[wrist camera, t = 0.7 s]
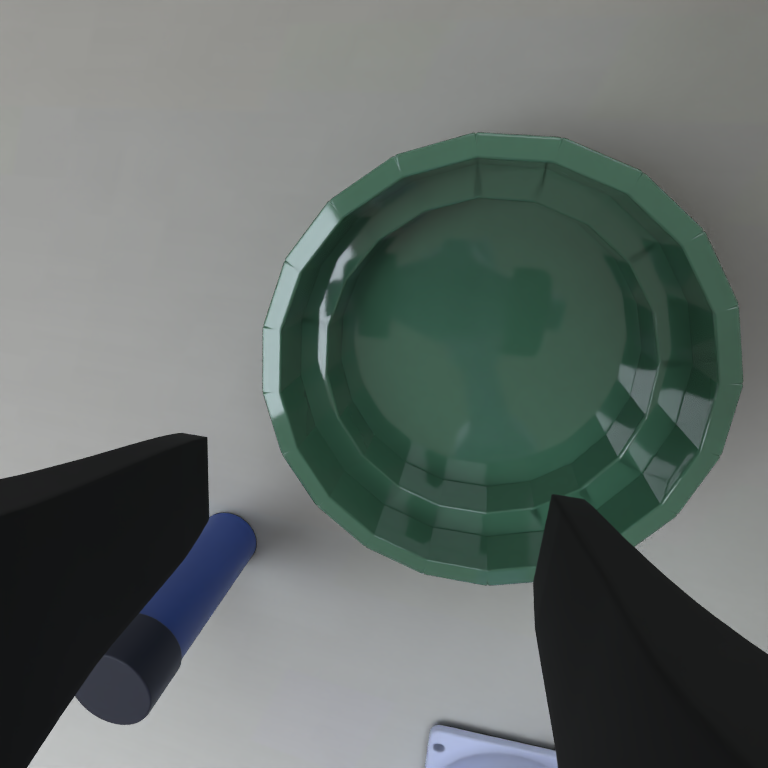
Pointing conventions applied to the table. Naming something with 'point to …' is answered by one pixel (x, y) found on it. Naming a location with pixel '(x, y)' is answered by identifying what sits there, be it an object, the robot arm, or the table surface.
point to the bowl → (500, 353)
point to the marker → (168, 625)
